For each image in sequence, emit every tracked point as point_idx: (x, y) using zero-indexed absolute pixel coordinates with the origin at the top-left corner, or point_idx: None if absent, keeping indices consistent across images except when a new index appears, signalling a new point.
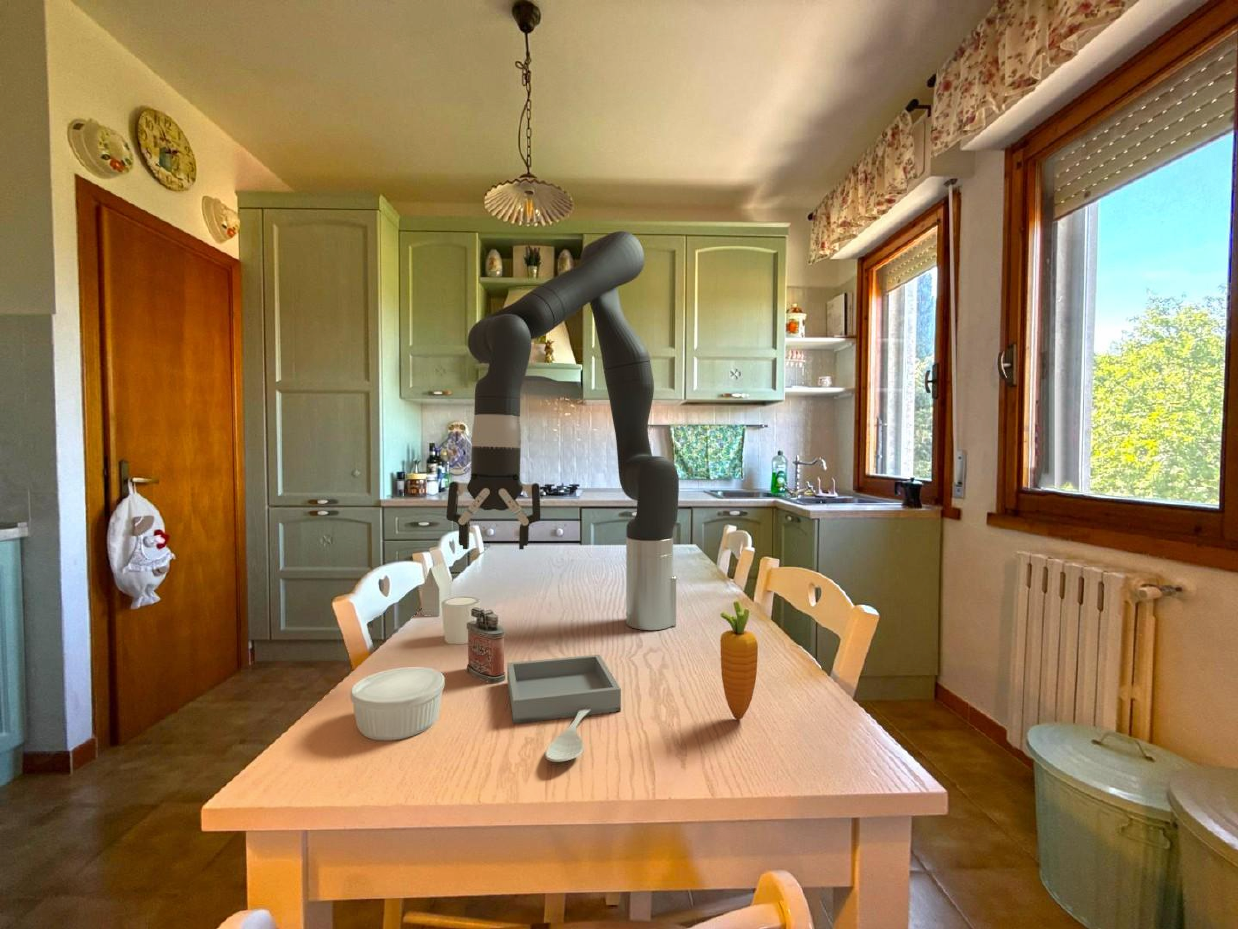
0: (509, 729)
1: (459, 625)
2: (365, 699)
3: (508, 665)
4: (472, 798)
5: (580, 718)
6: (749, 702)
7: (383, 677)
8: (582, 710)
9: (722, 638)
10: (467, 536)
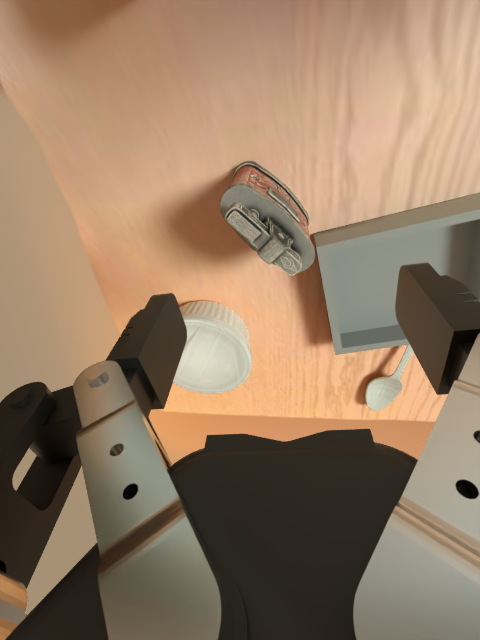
0: (328, 344)
1: None
2: (188, 389)
3: (319, 257)
4: (309, 414)
5: (410, 356)
6: None
7: None
8: None
9: None
10: (176, 370)
